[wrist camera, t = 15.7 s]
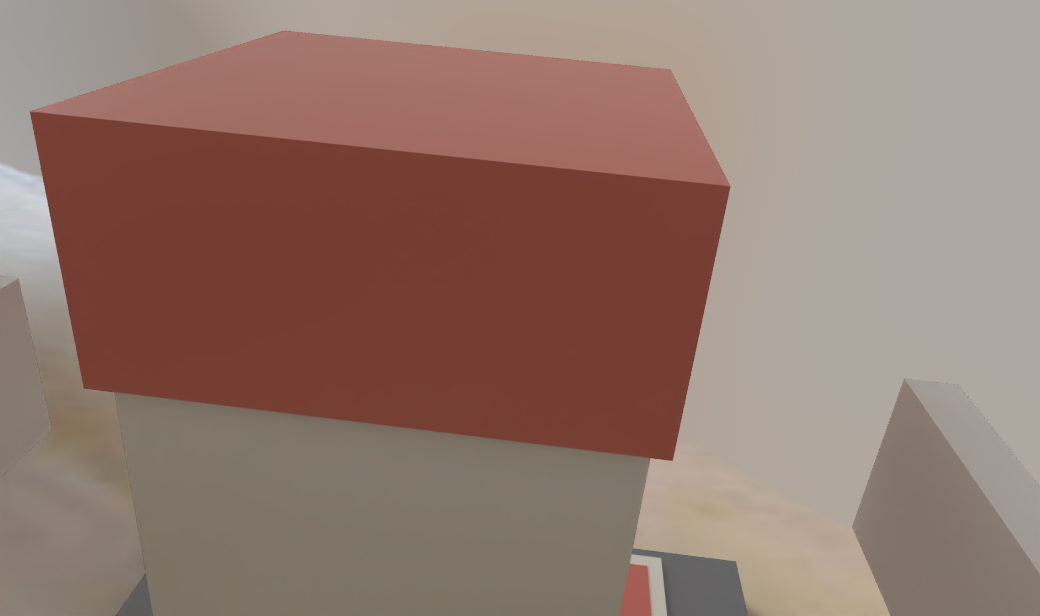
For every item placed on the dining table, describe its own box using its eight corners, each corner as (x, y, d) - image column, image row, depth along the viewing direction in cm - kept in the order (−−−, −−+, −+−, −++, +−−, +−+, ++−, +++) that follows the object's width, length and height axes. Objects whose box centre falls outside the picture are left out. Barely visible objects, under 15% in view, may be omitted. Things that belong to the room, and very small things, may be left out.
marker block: (311, 601, 19) (283, 30, 13) (577, 636, 18) (670, 69, 13) (183, 899, 13) (29, 110, 7) (568, 957, 13) (731, 186, 7)
